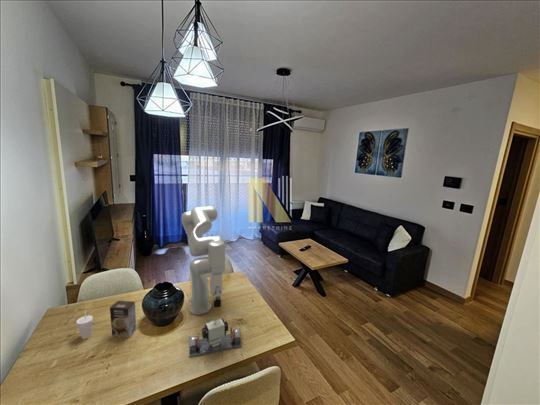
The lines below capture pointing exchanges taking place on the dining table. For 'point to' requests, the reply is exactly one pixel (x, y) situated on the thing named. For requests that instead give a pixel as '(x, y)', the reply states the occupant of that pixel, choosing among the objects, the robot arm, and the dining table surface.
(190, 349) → the grey bracket
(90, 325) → the smoothie
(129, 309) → the coffee box
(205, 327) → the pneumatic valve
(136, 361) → the dining table surface
